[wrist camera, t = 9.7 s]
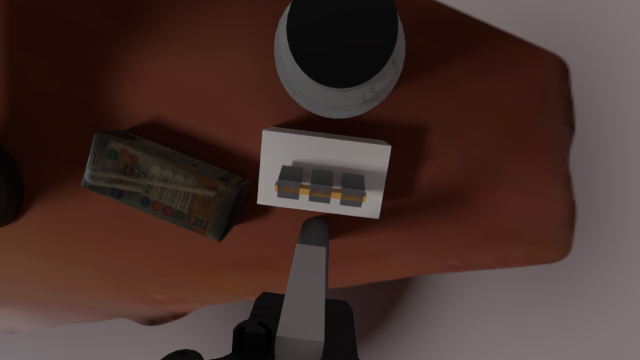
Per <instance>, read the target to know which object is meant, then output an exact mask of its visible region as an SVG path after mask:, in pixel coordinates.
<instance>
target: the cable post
mask: <svg viewBox="0 0 640 360" xmlns="http://www.w3.org/2000/svg"><path fill="white" fill-rule="evenodd" d="M298 244H303V245H311V246H320V247H326V259H325V298H326V299H328V259H329V226H328V224H327V223H326V221H325V220H323V219H321V218H319V217H312V218H309V219H307V220H306V221H305V222H304V223H303V225H302V229H301V233H300V237H299V241H298Z"/></svg>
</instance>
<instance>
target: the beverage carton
mask: <svg viewBox="0 0 640 360" xmlns="http://www.w3.org/2000/svg"><path fill="white" fill-rule="evenodd" d="M250 185H251V182H250V181H249V180H246V179H244V178H242V177H240V176H237V175H235V174H233V173H230V172H228V171H225V170H223V169H221V168H218V167H216V166H213V165H211V164H208V163H205V162H203V161H201V160H198V159H196V158H193V157H191V156H188V155H186V154H183V153H181V152H178V151H176V150H173V149H171V148H168V147H166V146H163V145H161V144H158V143H156V142H153V141H150V140H148V139H145V138H142V137H139V136H137V135H134V134H131V133H129V132H127V131H120V130H115V131H108V132H97V133H95V136H94V139H93V143H92V147H91V152H90V156H89V159H88V163H87V166H86V170H85V173H84V177H83V180H82V187H84V188H87V189H89V190H91V191H94V192H96V193H98V194H100V195H103V196H106V197H108V198H110V199H112V200H115V201H117V202H120V203H122V204H125V205H127V206H129V207H132V208H135V209H137V210H140V211H142V212H145V213H147V214H149V215H152V216H154V217H157V218H159V219H162V220H164V221H167V222H169V223H172V224H174V225H177V226H179V227H182V228H184V229H187V230H189V231H192V232H195V233H197V234H200V235H202V236H205V237H207V238H210V239H213V240H216V241H218V242H221V241H222V240H223V239H224V238H225V236H226V235H227V234H228V233H229V232H230V230H231V229H232V228H233V227H234V225H235V223H236V221H237V219H238V217H239V214H240V212H241V209H242V207H243V205H244V202H245V199H246V197H247V194H248V191H249V188H250Z"/></svg>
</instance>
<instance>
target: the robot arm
mask: <svg viewBox="0 0 640 360" xmlns="http://www.w3.org/2000/svg"><path fill="white" fill-rule="evenodd" d="M22 197H23V189H22V182H21V178H20V175H19V173H18V170H17V168H16V166H15V164H14V163H13V161H12V160H11V158H10V157H9V156H8V154H7V153H6V152H5V151H4V150H3V149H2V148H1V147H0V227H2V226H4V225H6V224H8V223H9V222H10V221H11V220H12V219H13V218H14V217H15V216H16V214H17V213H18V211H19V209H20V206H21V203H22ZM325 259H326V247H320V246H311V245H303V244H296V249H295V253H294V258H293V262H292V267H291V271H290V276H289V280H288V285H287V289H286V294H277V293H269V292H263V293H262V294H261V295H260V296H258V297H257V298H256V300H255V303H254V306H253V309H252V311H251V314H250V317H249V319H248V320H245V321H242V322H241V323H239V324H238V325H237V326H236V327H235V328H234V330H233V342H232V343H233V344H232V352H231V353H230V354H229V355H226V356H224V357H221V358H217V359H211V360H359V358H358V353H357V345H356V337H355V329H354V320H353V311H352V308H351V307H350V305H349V304H348V303H347V301H343V300H334V299H326V298H325ZM161 360H204V359H203V357H202V356H201V354H200V353H198V352H197V351H195V350H189V349H184V350H177V351H175V352H172V353H170V354H168V355H167V356H165V357H164V358H162V359H161Z"/></svg>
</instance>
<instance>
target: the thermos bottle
mask: <svg viewBox="0 0 640 360" xmlns="http://www.w3.org/2000/svg"><path fill="white" fill-rule="evenodd" d="M274 57H275V65H276V68H277V72H278V75H279V78H280V80H281V82H282V84H283V86H284V88H285V89H286V90H287V92H288V93H289V94H290V96H291V97H292V98H293V99H294V100H295V101H296V102H297V103H298V104H299V105H301V106H302V107H303V108H305V109H307V110H308V111H310V112H312V113H314V114H317V115H320V116H323V117H328V118H335V119H337V118H350V117H353V116H357V115H361V114H363V113H365V112H367V111H369V110H371V109H372V108H374V107H375V106H376V105H378V104H379V103H380V102H382V101H383V100H384V99H385V97H386V96H387V95H388V94H389V93H390V92H391V90H392V89H393V87H394V86H395V84H396V82H397V81H398V78H399V76H400V73H401V71H402V68H403V63H404V58H405V36H404V31H403V26H402V23H401V21H400V18H399V16H398V13H397V9H396V6H395V3H394V1H393V0H293V1H292V2H291V3H290V4H289V6H288V7H287V8H286V10H285V11H284V13H283V15H282V17H281V19H280V21H279V24H278V28H277V31H276V35H275V43H274Z"/></svg>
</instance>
